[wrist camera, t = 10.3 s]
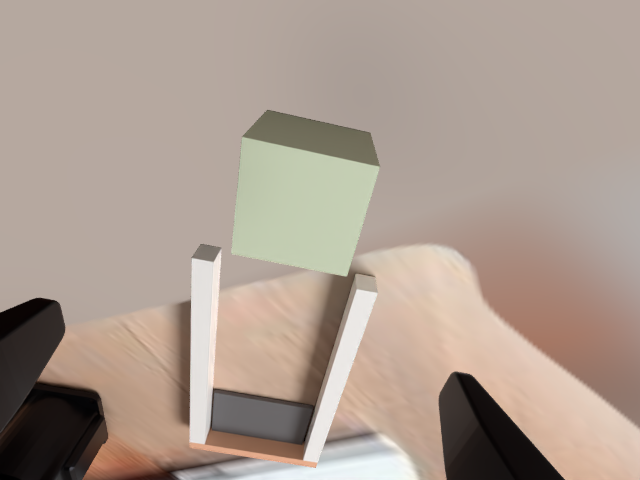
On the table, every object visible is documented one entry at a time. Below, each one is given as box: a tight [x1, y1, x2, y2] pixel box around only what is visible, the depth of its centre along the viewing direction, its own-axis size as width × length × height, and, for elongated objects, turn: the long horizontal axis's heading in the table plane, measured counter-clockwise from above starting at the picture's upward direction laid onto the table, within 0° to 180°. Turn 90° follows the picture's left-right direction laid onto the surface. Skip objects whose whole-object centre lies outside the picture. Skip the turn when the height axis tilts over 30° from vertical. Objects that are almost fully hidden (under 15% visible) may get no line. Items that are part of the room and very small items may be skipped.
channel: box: [190, 244, 378, 463], centre depth 25 cm, size 10×18×2 cm, turn 169°
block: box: [231, 110, 380, 277], centre depth 16 cm, size 5×5×5 cm
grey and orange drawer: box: [190, 389, 317, 468], centre depth 28 cm, size 10×6×2 cm, turn 79°
